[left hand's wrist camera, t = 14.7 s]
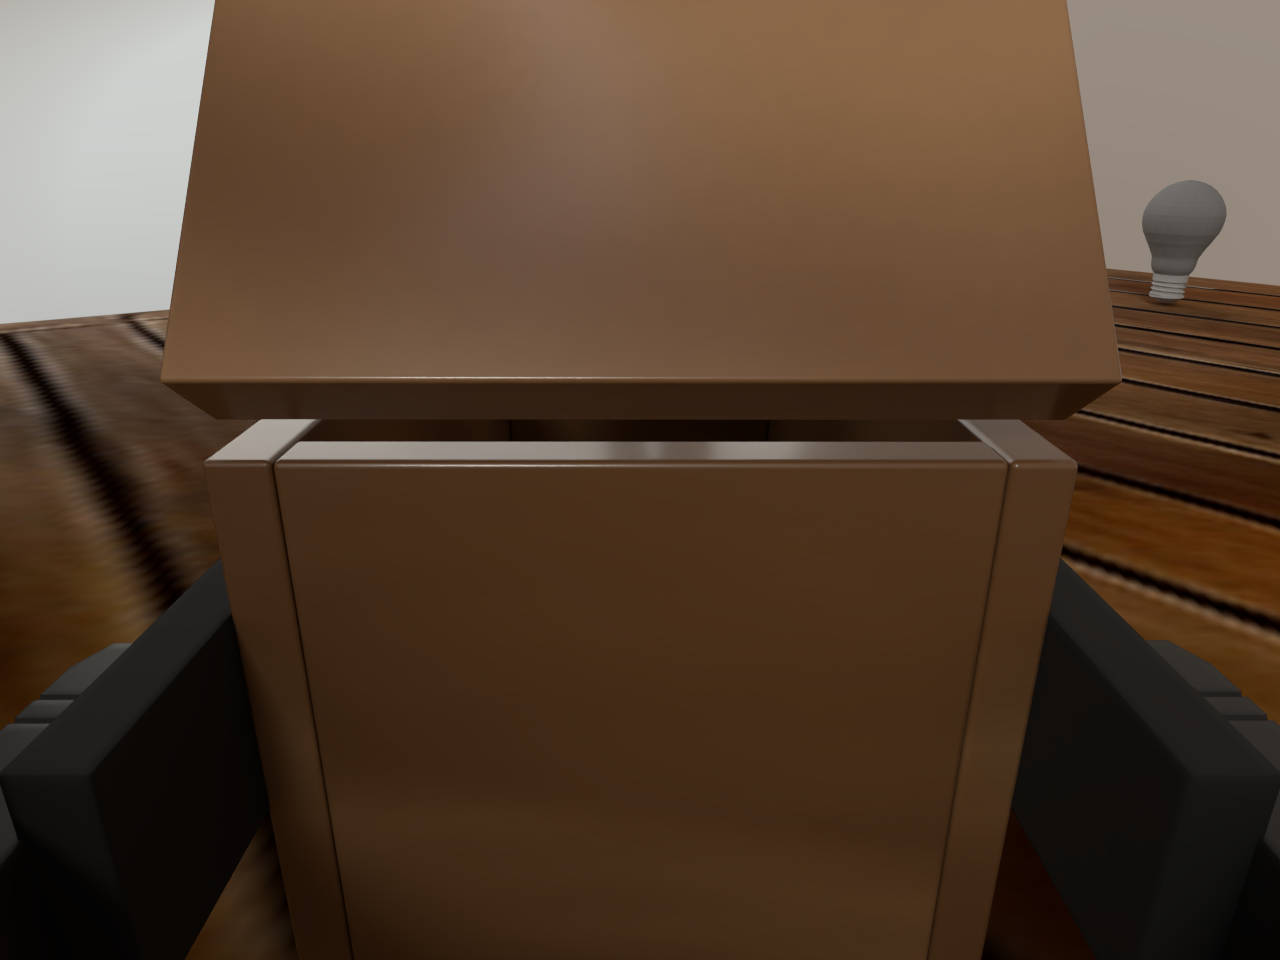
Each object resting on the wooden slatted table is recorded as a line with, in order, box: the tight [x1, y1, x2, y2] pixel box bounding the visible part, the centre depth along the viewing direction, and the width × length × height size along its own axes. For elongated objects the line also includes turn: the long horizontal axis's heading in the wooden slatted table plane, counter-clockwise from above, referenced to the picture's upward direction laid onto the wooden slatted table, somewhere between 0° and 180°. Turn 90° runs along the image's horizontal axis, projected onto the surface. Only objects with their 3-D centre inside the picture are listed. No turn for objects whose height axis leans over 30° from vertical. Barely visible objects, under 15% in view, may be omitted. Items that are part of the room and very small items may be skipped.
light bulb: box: [1142, 181, 1226, 303], centre depth 74 cm, size 6×6×10 cm
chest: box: [203, 419, 1078, 960], centre depth 18 cm, size 17×9×10 cm, turn 0°
